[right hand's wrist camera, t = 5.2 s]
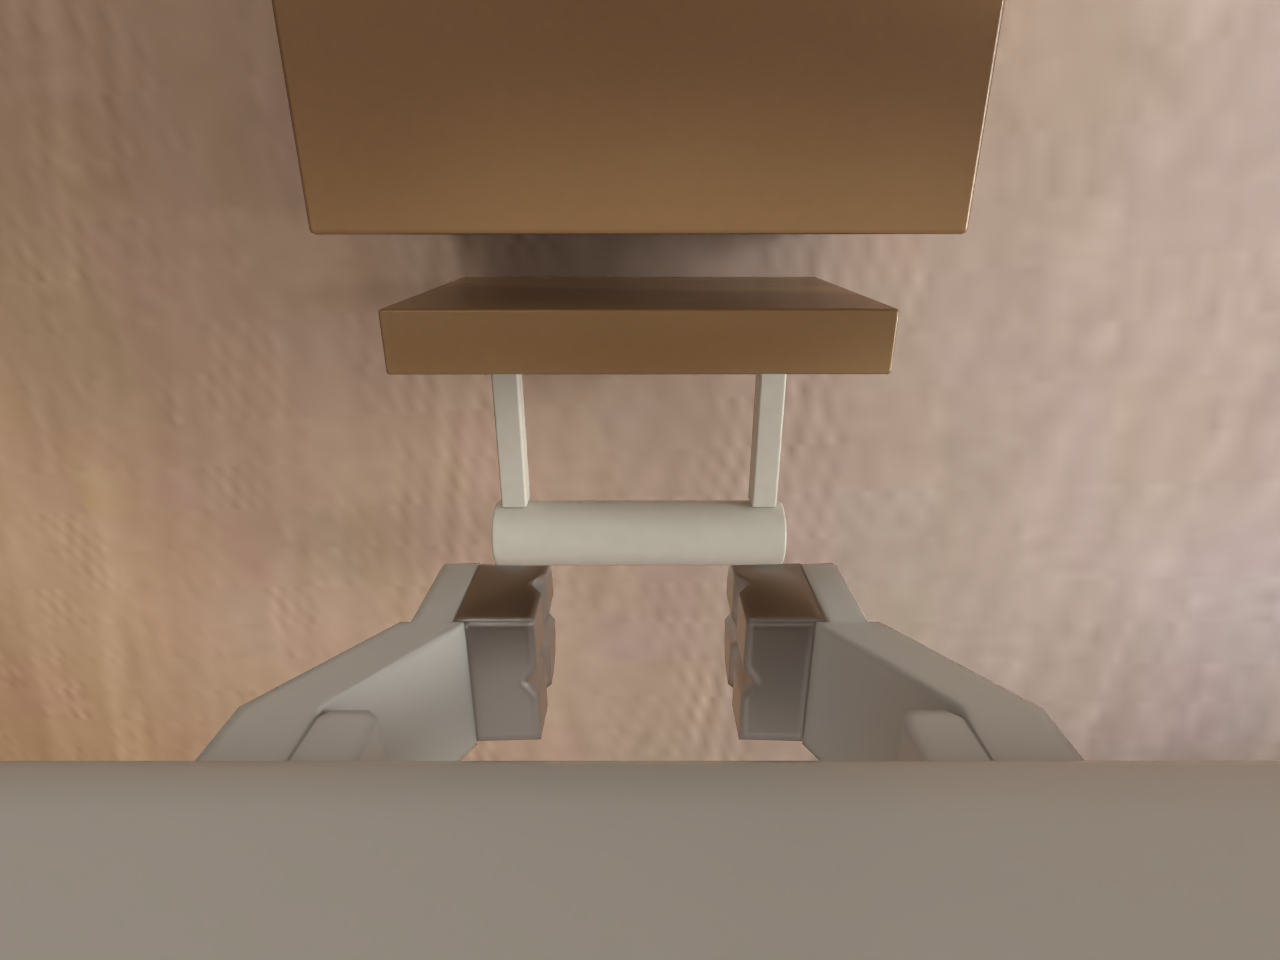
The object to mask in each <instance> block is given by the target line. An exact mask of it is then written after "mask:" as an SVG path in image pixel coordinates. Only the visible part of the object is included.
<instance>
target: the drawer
mask: <svg viewBox="0 0 1280 960" xmlns="http://www.w3.org/2000/svg"><path fill="white" fill-rule="evenodd" d="M898 316H899V310H898V309H896V308H893V307H891V306H888V305H885V304H883V303H880V302H878V301H875V300H872V299H870V298H867V297H865V296H862V295H859V294H857V293H854V292H852V291H849V290H846V289H844V288H841V287H839V286H836V285H833V284H831V283H828V282H826V281H823V280H821V279H818V278H815V277H514V278H461V279H458V280H455V281H453V282H450V283H448V284H445V285H442V286H440V287H437V288H435V289H432V290H429V291H427V292H424V293H422V294H419V295H416V296H414V297H411V298H409V299H406V300H403V301H401V302H398V303H396V304H393V305H390V306H388V307H385V308H383V309H380V310H379V319H380V327H381V334H382V341H383V349H384V356H385V363H386V371H387V373H388V374H491V377H492V389H493V402H494V414H495V426H496V439H497V451H498V464H499V476H500V488H501V501H499V502H497V504H496V506H495V509H494V514H493V521H492V549H493V556H494V559H495V562H496V564H515V565H761V564H782V563H783V560H784V557H785V551H786V536H787V534H786V518H785V512H784V508H783V505H782V503H781V502H780V501H777V490H778V477H779V465H780V452H781V439H782V426H783V414H784V401H785V388H786V375H787V374H889V373H890V372H891V368H892V360H893V353H894V345H895V338H896V331H897V323H898ZM522 374H756V383H755V399H754V415H753V431H752V447H751V464H750V480H749V496H748V497H749V500H750V501H529V498H530V491H529V476H528V460H527V445H526V429H525V413H524V398H523V382H522Z"/></svg>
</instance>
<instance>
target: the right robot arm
mask: <svg viewBox="0 0 1280 960" xmlns="http://www.w3.org/2000/svg"><path fill="white" fill-rule="evenodd" d="M552 597H553V582H552V571H551V567H550V565H515V564H482V565H481V564H480V563H464V564H446V565H444V566H443V567H442V568H441V570H440V572H439V573H438V575H437V577H436V579H435V581H434V582H433V584H432V586H431V588H430V589H429V591H428V593H427V595H426V597H425V598H424V600H423V602H422V604H421V605H420V607H419V609H418V611H417V613H416V614H415V616H414V618H413V620H412V621H411V622H400V623H398V624H396V625H394V626H392V627H390V628H388V629H386V630H385V631H383V632H381V633H379V634H377V635H375V636H373V637H371V638H369V639H367V640H366V641H364V642H362V643H360V644H358V645H356V646H354V647H352V648H350V649H348V650H347V651H345V652H343V653H341V654H339V655H337V656H335V657H333V658H331V659H330V660H328V661H326V662H324V663H322V664H320V665H318V666H316V667H314V668H312V669H311V670H309V671H307V672H305V673H303V674H301V675H299V676H297V677H295V678H293V679H292V680H290V681H288V682H286V683H284V684H282V685H280V686H278V687H276V688H275V689H273V690H271V691H269V692H267V693H265V694H263V695H261V696H259V697H257V698H256V699H254V700H252V701H250V702H248V703H246V704H244V705H242V706H240V707H239V708H238V709H237V710H236V711H235V712H234V714H233V715H232V716H231V717H230V719H229V720H228V721H227V722H226V723H225V725H224V726H223V727H222V728H221V730H220V731H219V732H218V733H217V735H216V736H215V737H214V738H213V739H212V741H211V742H210V743H209V744H208V746H207V747H206V748H205V749H204V750H203V752H202V753H201V754H200V755H199V757H198V758H197V759H196V760H195V761H0V960H1280V761H1085V760H1084V759H1083V758H1082V757H1081V755H1080V754H1079V753H1078V752H1077V750H1076V749H1075V748H1074V747H1073V746H1072V744H1071V743H1070V742H1069V741H1068V739H1067V738H1066V737H1065V736H1064V734H1063V733H1062V732H1061V731H1060V729H1059V728H1058V727H1057V726H1056V724H1055V723H1054V722H1053V721H1052V720H1051V718H1050V717H1049V716H1048V715H1047V713H1046V712H1045V711H1044V710H1043V708H1041V707H1039V706H1037V705H1035V704H1033V703H1031V702H1029V701H1028V700H1026V699H1024V698H1022V697H1020V696H1018V695H1016V694H1014V693H1012V692H1011V691H1009V690H1007V689H1005V688H1003V687H1001V686H999V685H997V684H995V683H994V682H992V681H990V680H988V679H986V678H984V677H982V676H980V675H978V674H977V673H975V672H973V671H971V670H969V669H967V668H965V667H963V666H961V665H960V664H958V663H956V662H954V661H952V660H950V659H948V658H946V657H944V656H943V655H941V654H939V653H937V652H935V651H933V650H931V649H929V648H927V647H926V646H924V645H922V644H920V643H918V642H916V641H914V640H912V639H910V638H909V637H907V636H905V635H903V634H901V633H899V632H897V631H895V630H893V629H892V628H890V627H888V626H886V625H884V624H882V623H880V622H868V620H867V618H866V616H865V615H864V613H863V611H862V609H861V608H860V606H859V604H858V602H857V601H856V599H855V597H854V595H853V594H852V592H851V590H850V588H849V587H848V585H847V583H846V581H845V580H844V578H843V576H842V574H841V573H840V571H839V569H838V567H837V566H836V565H835V564H833V563H820V564H761V565H731V566H730V567H729V571H728V578H727V597H728V602H729V607H730V612H731V613H730V615H729V616H728V617H727V618H726V619H725V664H726V673H727V679H728V684H729V685H730V686H732V687H733V703H732V706H733V711H734V716H735V721H736V726H737V731H738V736H739V739H749V740H786V741H803V744H804V745H805V746H806V747H807V748H808V749H809V750H810V751H811V752H812V753H813V754H814V755H815V756H816V757H817V758H818V759H819V760H820V761H461V760H462V759H463V758H464V757H465V756H466V755H467V754H468V753H469V752H470V751H471V750H472V749H473V748H474V747H475V746H476V745H477V741H493V740H529V739H541V736H542V731H543V726H544V721H545V716H546V710H547V687H548V686H550V685H551V684H552V678H553V672H554V662H555V619H554V618H553V617H552V616H551V615H550V614H549V611H550V606H551V602H552Z"/></svg>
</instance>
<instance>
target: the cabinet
mask: <svg viewBox="0 0 1280 960" xmlns="http://www.w3.org/2000/svg"><path fill="white" fill-rule="evenodd" d="M1004 3H1005V0H272V5H273V11H274V17H275V23H276V29H277V35H278V41H279V47H280V53H281V59H282V65H283V71H284V78H285V84H286V90H287V96H288V102H289V108H290V114H291V120H292V126H293V132H294V138H295V144H296V150H297V156H298V162H299V168H300V174H301V180H302V186H303V192H304V198H305V204H306V210H307V216H308V223H309V229H310V231H311V232H312V233H314V234H963V233H965V232H966V231H967V229H968V223H969V217H970V211H971V205H972V199H973V193H974V186H975V180H976V174H977V168H978V162H979V156H980V150H981V144H982V137H983V131H984V125H985V119H986V113H987V107H988V101H989V95H990V88H991V82H992V76H993V70H994V64H995V58H996V52H997V46H998V39H999V33H1000V27H1001V21H1002V15H1003V9H1004Z"/></svg>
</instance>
